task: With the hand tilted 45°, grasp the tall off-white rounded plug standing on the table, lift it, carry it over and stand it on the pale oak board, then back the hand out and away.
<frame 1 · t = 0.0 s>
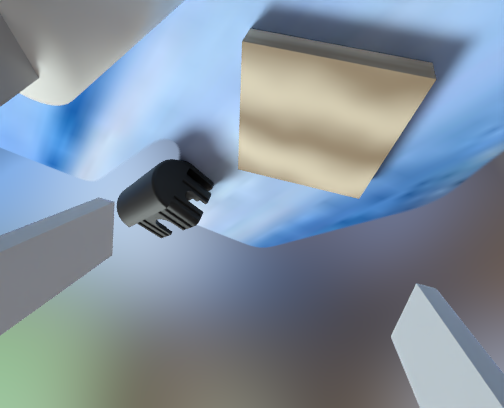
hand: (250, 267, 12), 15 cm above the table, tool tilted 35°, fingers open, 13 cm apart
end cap: (175, 176, 35), on the table
oak board: (315, 120, 23), on the table
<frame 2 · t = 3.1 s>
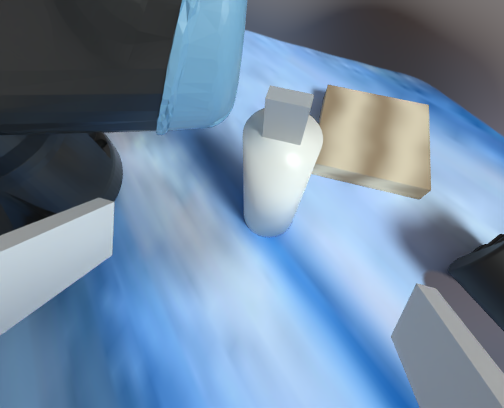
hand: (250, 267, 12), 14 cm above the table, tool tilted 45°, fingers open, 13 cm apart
rounded plug: (268, 214, 28), on the table
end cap: (497, 305, 25), on the table
oak board: (366, 143, 32), on the table
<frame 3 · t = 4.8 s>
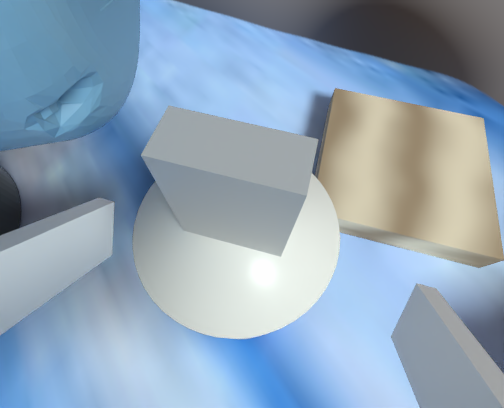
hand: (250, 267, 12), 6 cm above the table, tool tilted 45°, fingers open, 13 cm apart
rounded plug: (242, 295, 17), on the table
oak board: (392, 175, 22), on the table
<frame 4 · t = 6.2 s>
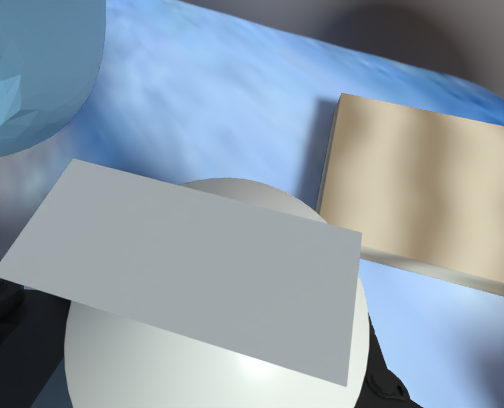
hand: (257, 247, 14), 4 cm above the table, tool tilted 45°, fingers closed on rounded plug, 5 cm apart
rounded plug: (237, 329, 15), on the table, touching gripper
oak board: (405, 189, 20), on the table
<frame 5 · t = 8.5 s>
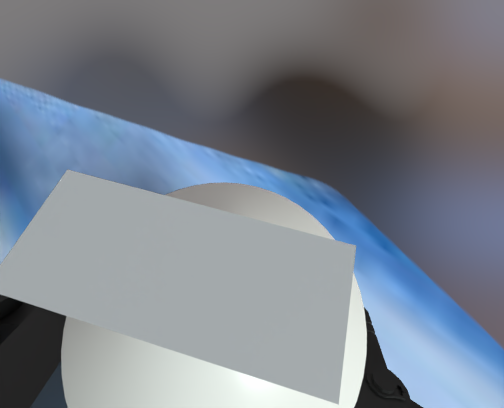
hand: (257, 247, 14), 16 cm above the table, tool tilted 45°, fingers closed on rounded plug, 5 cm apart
rounded plug: (237, 331, 15), point 12 cm above the table, touching gripper
when the fingers open (7 cm above the table, at t = 10.8 s): rounded plug drops 1 cm, resting on oak board.
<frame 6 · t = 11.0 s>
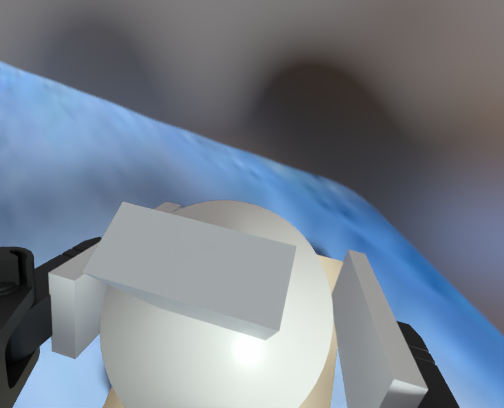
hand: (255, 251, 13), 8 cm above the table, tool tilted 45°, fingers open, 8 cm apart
rounded plug: (239, 332, 17), point 2 cm above the table, touching oak board
oak board: (239, 330, 18), on the table
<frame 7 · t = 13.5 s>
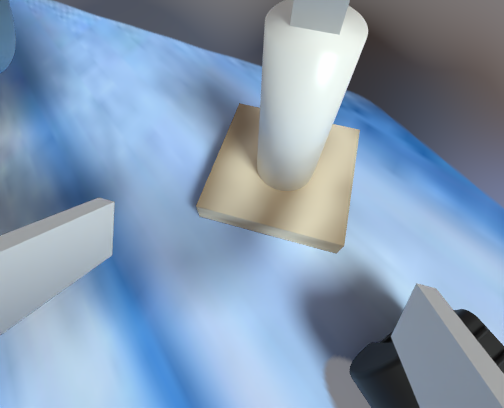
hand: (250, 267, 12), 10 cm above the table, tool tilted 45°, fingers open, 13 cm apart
rounded plug: (285, 166, 24), point 2 cm above the table, touching oak board
oak board: (281, 177, 26), on the table
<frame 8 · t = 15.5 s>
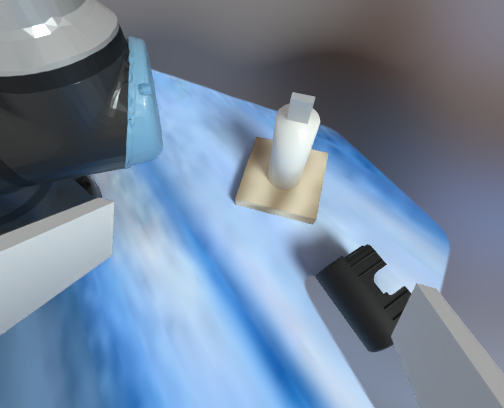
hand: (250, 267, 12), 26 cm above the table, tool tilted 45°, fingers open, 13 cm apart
rounded plug: (284, 175, 42), point 2 cm above the table, touching oak board
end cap: (353, 299, 36), on the table
oak board: (282, 181, 44), on the table
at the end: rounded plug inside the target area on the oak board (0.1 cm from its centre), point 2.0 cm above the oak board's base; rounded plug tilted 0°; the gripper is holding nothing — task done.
